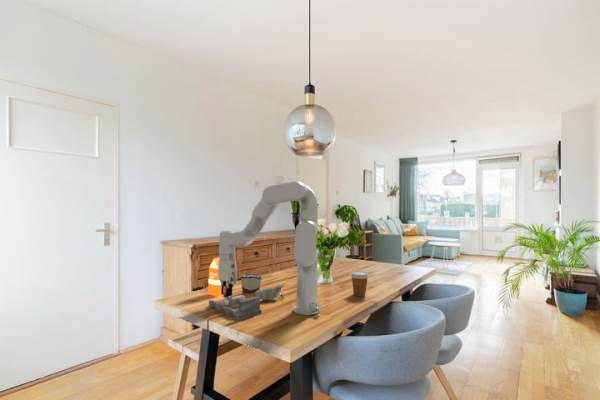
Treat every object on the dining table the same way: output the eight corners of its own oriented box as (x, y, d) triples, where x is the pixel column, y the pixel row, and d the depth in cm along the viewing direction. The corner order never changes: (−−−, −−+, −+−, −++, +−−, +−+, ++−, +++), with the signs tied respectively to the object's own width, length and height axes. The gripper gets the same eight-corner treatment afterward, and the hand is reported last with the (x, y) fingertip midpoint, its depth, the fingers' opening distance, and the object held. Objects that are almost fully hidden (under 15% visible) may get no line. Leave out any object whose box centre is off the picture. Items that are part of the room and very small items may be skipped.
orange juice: (230, 292, 168) (230, 256, 169) (217, 296, 161) (218, 259, 161) (220, 290, 173) (221, 255, 173) (208, 294, 166) (208, 257, 166)
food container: (264, 291, 172) (264, 273, 172) (261, 294, 166) (261, 276, 166) (242, 290, 173) (243, 272, 173) (239, 293, 167) (239, 275, 167)
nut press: (261, 313, 137) (261, 296, 137) (239, 320, 129) (239, 302, 129) (230, 300, 155) (230, 286, 155) (208, 306, 146) (209, 290, 146)
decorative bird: (252, 300, 156) (252, 286, 156) (282, 297, 161) (282, 283, 162) (254, 303, 151) (254, 288, 151) (285, 300, 156) (285, 285, 157)
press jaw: (244, 304, 144) (245, 287, 144) (228, 309, 137) (228, 291, 137) (232, 299, 151) (232, 283, 151) (216, 304, 144) (216, 287, 144)
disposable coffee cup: (349, 296, 164) (349, 274, 164) (351, 291, 173) (352, 270, 173) (367, 298, 161) (367, 275, 161) (368, 293, 170) (369, 271, 170)
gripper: (243, 257, 143) (243, 297, 143) (224, 253, 155) (224, 289, 155) (230, 260, 138) (229, 300, 138) (211, 255, 149) (210, 292, 149)
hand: (226, 294), depth 146 cm, fingers closed on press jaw, 3 cm apart
